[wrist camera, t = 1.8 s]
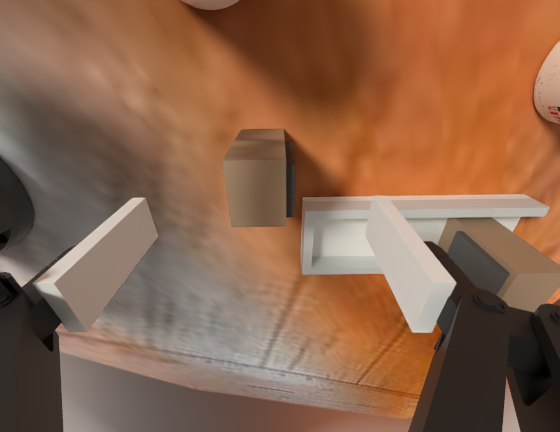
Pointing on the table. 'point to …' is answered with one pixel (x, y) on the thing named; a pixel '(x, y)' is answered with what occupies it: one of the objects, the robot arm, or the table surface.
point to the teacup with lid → (549, 87)
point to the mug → (210, 4)
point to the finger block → (260, 178)
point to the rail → (437, 240)
